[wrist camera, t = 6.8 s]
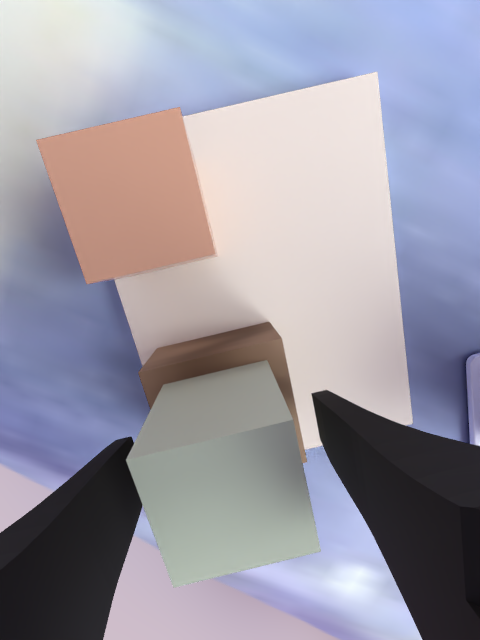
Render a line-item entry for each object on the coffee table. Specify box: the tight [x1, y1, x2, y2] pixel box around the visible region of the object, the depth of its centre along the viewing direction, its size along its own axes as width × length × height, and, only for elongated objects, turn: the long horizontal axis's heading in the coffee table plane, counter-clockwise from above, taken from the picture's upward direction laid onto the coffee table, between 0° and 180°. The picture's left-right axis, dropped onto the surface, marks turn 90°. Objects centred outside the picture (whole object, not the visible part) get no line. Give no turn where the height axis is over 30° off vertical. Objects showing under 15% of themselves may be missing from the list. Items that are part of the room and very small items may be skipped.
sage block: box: [126, 360, 321, 587], centre depth 10 cm, size 4×4×4 cm
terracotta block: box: [36, 107, 218, 284], centre depth 11 cm, size 4×4×4 cm
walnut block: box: [138, 322, 307, 463], centre depth 13 cm, size 6×6×3 cm
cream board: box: [114, 72, 413, 450], centre depth 15 cm, size 14×18×1 cm
